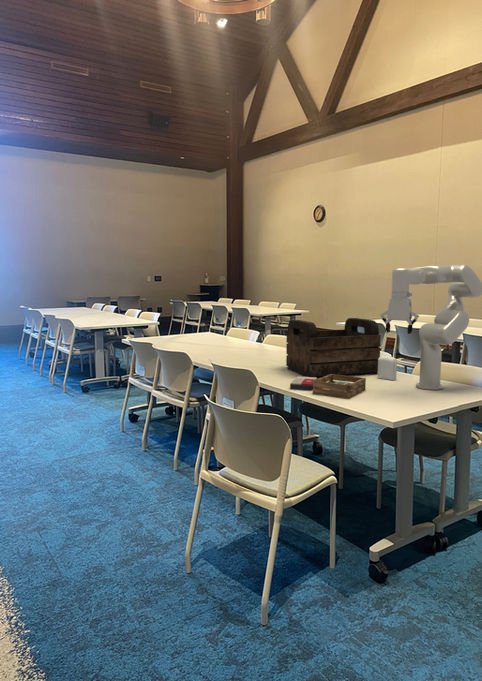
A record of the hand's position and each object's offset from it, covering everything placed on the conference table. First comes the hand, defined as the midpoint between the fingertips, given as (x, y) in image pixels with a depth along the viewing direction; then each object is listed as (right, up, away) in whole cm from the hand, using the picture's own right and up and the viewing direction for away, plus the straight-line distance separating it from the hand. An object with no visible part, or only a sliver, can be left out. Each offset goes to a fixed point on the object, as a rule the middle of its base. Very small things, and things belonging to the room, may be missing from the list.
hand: (398, 332), depth 220 cm
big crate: (-26, -28, +6) cm, 39 cm away
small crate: (-26, -27, +6) cm, 38 cm away
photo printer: (+5, -24, +35) cm, 43 cm away
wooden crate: (-20, -22, +57) cm, 64 cm away
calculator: (-41, -27, +18) cm, 53 cm away
